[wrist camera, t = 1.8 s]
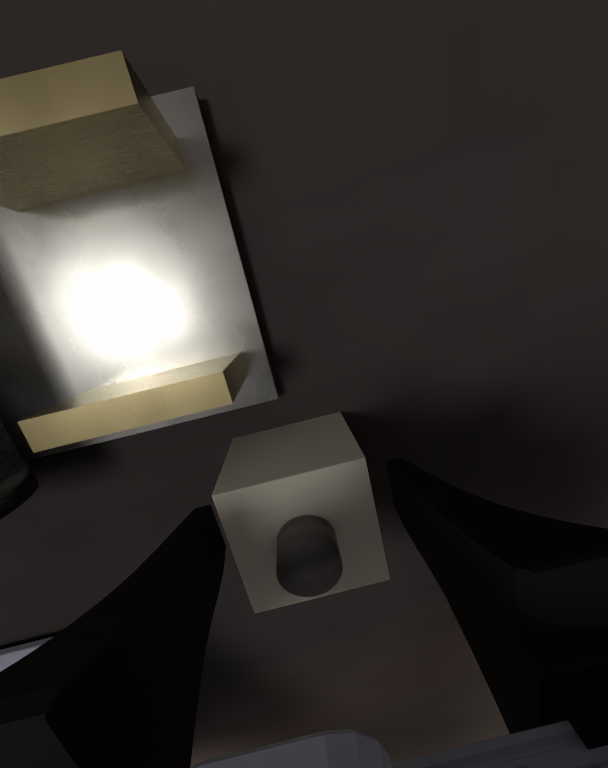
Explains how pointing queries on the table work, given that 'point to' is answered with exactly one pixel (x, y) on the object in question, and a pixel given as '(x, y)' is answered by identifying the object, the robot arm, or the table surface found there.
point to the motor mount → (113, 268)
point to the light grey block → (300, 513)
